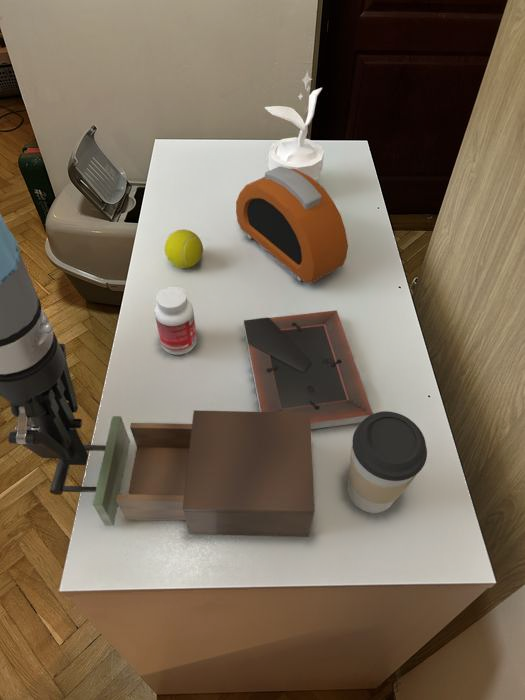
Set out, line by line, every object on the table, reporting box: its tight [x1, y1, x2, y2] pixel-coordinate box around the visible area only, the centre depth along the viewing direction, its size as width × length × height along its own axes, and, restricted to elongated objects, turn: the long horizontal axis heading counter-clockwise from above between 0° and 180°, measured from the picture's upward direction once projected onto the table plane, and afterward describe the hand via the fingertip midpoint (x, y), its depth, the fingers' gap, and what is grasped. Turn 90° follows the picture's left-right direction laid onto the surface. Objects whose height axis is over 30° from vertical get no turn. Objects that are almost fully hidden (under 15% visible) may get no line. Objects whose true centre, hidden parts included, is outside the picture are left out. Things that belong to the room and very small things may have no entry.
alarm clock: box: [235, 166, 349, 284], centre depth 99 cm, size 23×9×17 cm, turn 38°
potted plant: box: [264, 69, 325, 181], centre depth 108 cm, size 13×12×25 cm
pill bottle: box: [154, 286, 198, 356], centre depth 86 cm, size 6×6×11 cm
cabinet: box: [183, 409, 316, 538], centre depth 71 cm, size 16×14×9 cm
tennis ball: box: [164, 229, 204, 269], centre depth 100 cm, size 7×7×7 cm
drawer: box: [49, 415, 192, 527], centre depth 71 cm, size 21×13×7 cm, turn 89°
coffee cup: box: [347, 410, 428, 514], centre depth 69 cm, size 9×9×15 cm
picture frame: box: [243, 309, 374, 430], centre depth 86 cm, size 16×2×22 cm
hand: (76, 459), depth 69 cm, fingers closed
